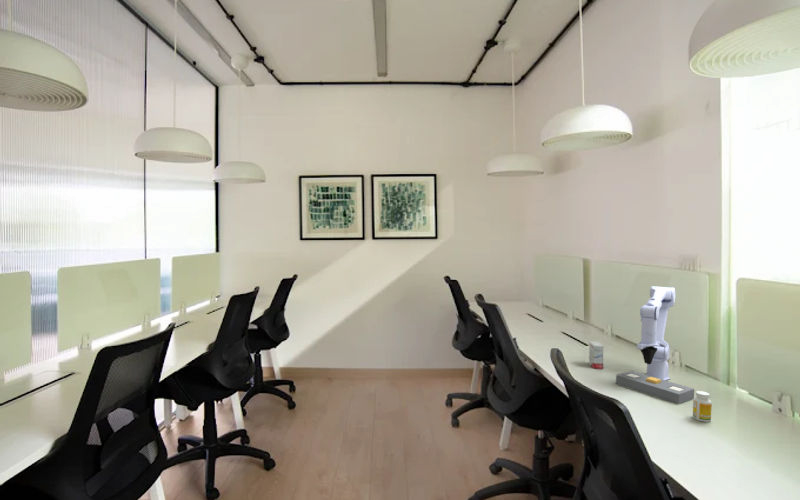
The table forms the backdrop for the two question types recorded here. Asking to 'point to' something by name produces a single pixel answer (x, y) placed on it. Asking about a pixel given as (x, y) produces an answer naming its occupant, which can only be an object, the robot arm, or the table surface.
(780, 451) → the table surface
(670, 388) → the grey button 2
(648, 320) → the robot arm
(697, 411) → the supplement bottle
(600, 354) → the ink box
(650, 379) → the amber button
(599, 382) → the table surface
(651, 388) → the panel
